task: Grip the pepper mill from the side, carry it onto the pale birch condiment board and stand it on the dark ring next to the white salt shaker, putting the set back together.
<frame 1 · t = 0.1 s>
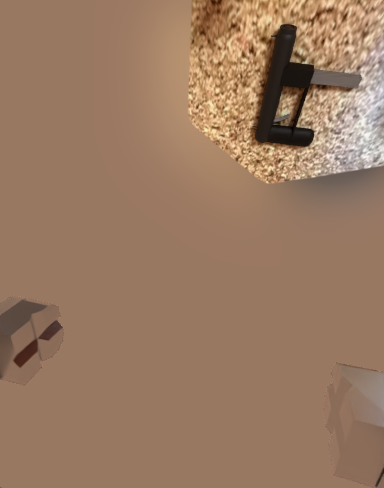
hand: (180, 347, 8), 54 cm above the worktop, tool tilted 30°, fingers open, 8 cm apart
door handle: (303, 91, 53), on the worktop
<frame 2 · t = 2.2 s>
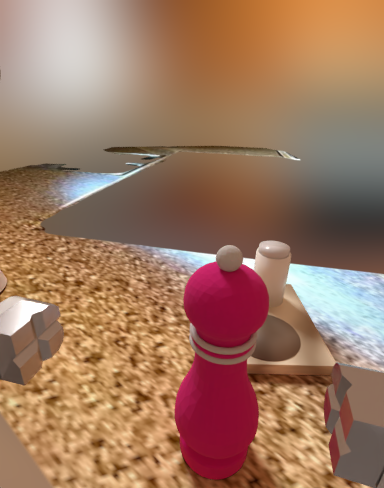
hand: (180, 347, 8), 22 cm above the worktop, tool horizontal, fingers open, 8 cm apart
condiment board: (253, 324, 43), on the worktop
pepper mill: (213, 443, 27), on the worktop
salt shaker: (266, 297, 46), resting on condiment board
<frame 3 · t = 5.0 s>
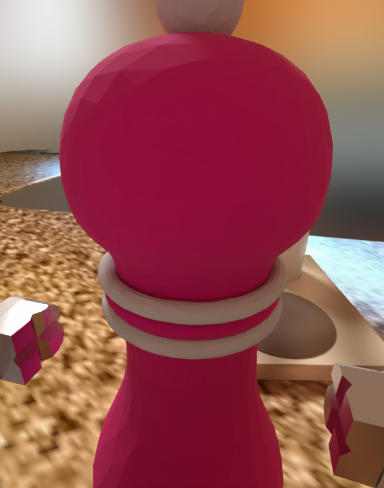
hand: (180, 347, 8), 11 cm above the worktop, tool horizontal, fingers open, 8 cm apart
condiment board: (260, 305, 29), on the worktop
salt shaker: (277, 270, 33), resting on condiment board
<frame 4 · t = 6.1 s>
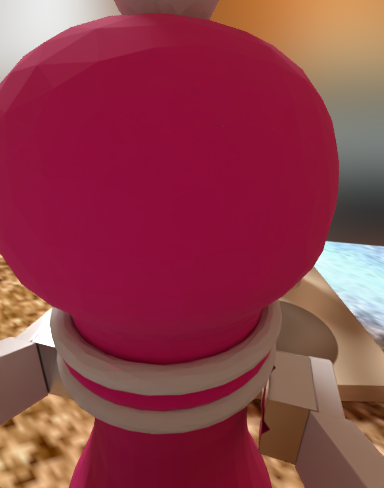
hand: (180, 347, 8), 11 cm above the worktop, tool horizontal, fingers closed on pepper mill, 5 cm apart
condiment board: (257, 315, 28), on the worktop
when the fingers open (14 cm above the worktop, at t = 9.8 s): pepper mill drops 1 cm, resting on condiment board.
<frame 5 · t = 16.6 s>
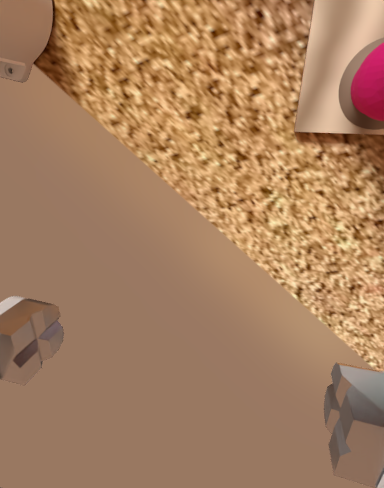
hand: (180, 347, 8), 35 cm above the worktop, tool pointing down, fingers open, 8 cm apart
pepper mill: (381, 85, 31), point 1 cm above the worktop, touching condiment board
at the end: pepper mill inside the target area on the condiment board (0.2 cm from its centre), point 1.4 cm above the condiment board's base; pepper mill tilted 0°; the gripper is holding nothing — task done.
